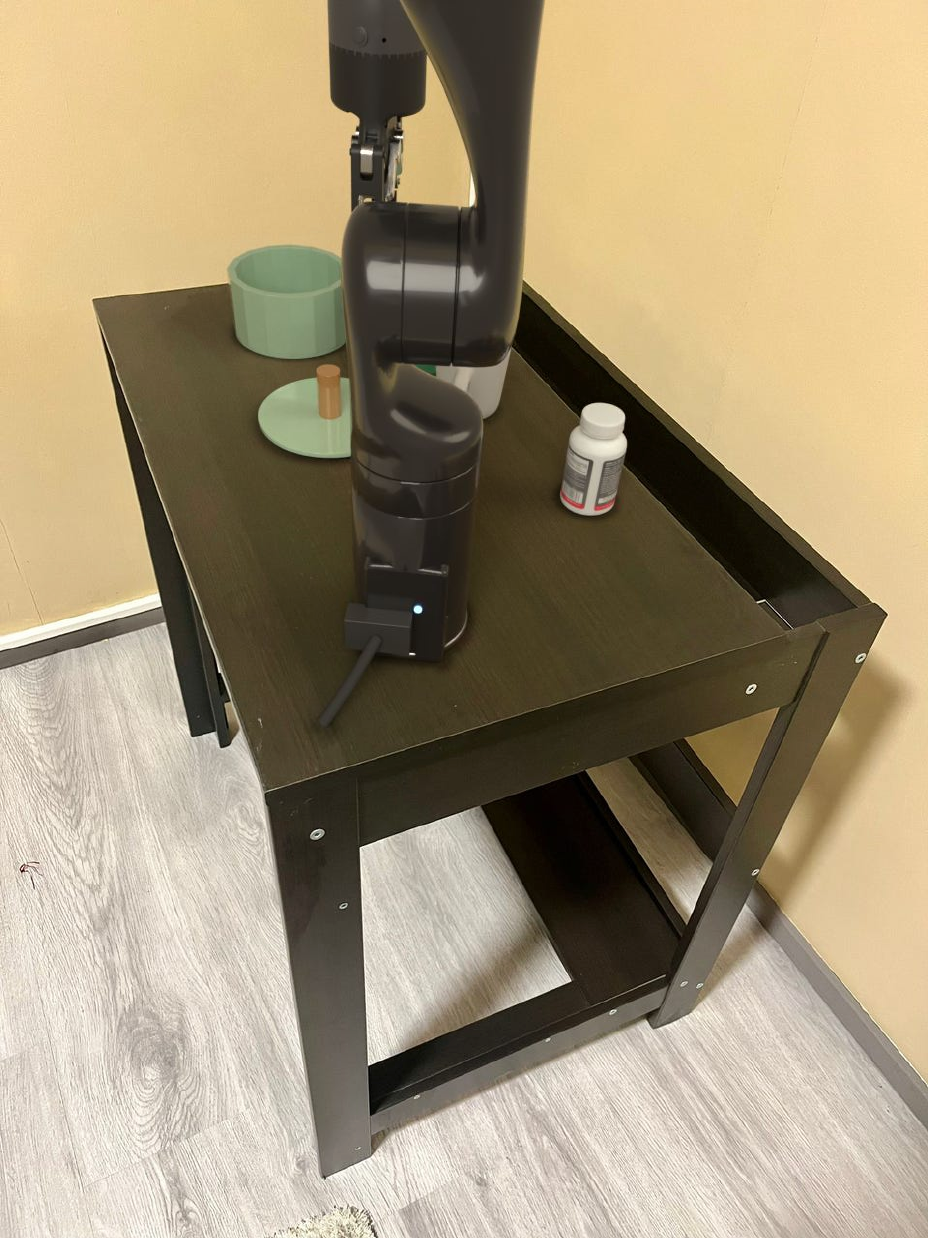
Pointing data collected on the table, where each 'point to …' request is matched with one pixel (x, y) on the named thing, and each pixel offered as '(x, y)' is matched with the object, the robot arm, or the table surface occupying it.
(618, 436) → the pill bottle
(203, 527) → the table surface
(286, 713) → the table surface
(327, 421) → the lid
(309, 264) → the pot
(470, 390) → the cup
